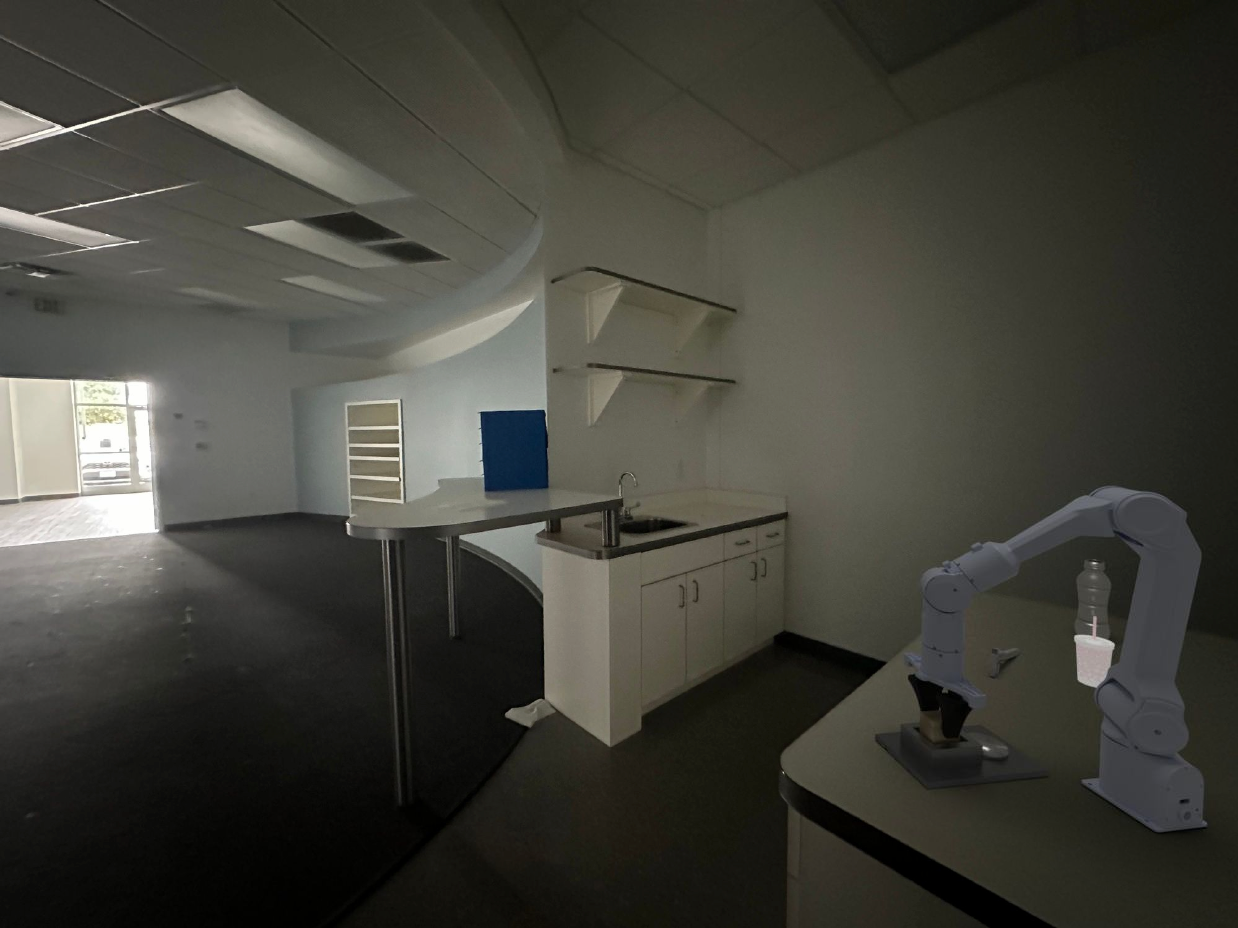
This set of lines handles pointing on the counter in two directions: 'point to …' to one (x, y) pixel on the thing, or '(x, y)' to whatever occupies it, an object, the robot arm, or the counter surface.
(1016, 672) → the counter surface
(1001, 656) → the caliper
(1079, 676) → the beverage cup
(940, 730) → the cardboard box
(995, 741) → the black tray
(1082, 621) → the plastic bottle
